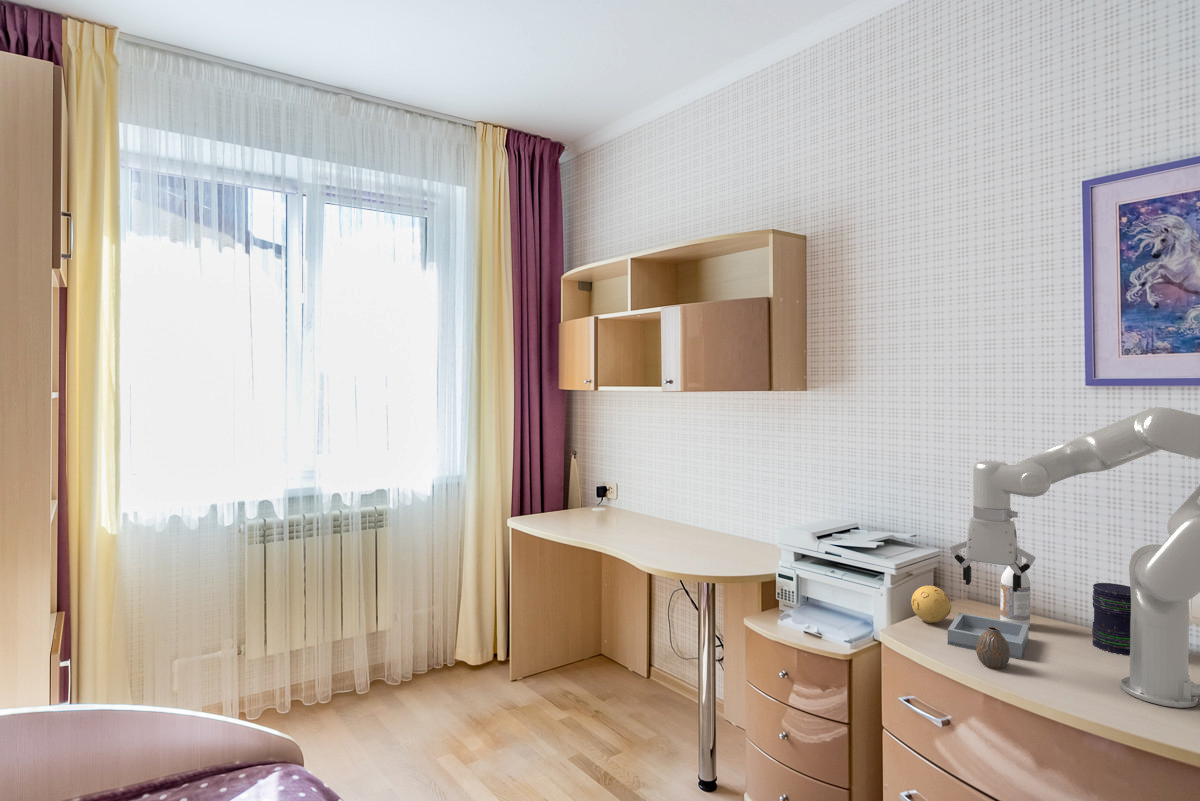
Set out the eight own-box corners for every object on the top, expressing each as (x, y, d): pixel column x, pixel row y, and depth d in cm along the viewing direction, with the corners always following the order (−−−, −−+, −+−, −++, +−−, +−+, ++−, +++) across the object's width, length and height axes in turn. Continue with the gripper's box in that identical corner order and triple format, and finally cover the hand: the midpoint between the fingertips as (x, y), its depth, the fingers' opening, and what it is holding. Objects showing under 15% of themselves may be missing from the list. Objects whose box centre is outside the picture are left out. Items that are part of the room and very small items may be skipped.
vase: (1014, 672, 153) (1015, 634, 153) (981, 670, 155) (982, 632, 154) (1003, 660, 160) (1003, 624, 160) (971, 658, 161) (972, 622, 161)
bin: (1028, 639, 173) (1028, 625, 173) (1021, 659, 161) (1021, 643, 160) (959, 626, 183) (959, 612, 183) (947, 644, 170) (947, 629, 170)
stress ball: (914, 618, 192) (897, 600, 188) (935, 591, 193) (918, 572, 189) (943, 635, 183) (925, 617, 179) (964, 607, 184) (947, 588, 180)
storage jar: (1091, 637, 175) (1091, 580, 174) (1139, 645, 169) (1140, 586, 169) (1092, 650, 166) (1093, 590, 166) (1143, 658, 161) (1144, 597, 161)
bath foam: (999, 619, 188) (1000, 548, 188) (1028, 623, 185) (1029, 551, 185) (1001, 627, 182) (1001, 554, 182) (1031, 631, 179) (1032, 557, 179)
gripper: (1037, 516, 155) (1037, 589, 155) (953, 508, 165) (953, 577, 166) (1033, 521, 149) (1033, 598, 149) (947, 512, 159) (947, 584, 160)
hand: (991, 587), depth 157 cm, fingers open, 9 cm apart
